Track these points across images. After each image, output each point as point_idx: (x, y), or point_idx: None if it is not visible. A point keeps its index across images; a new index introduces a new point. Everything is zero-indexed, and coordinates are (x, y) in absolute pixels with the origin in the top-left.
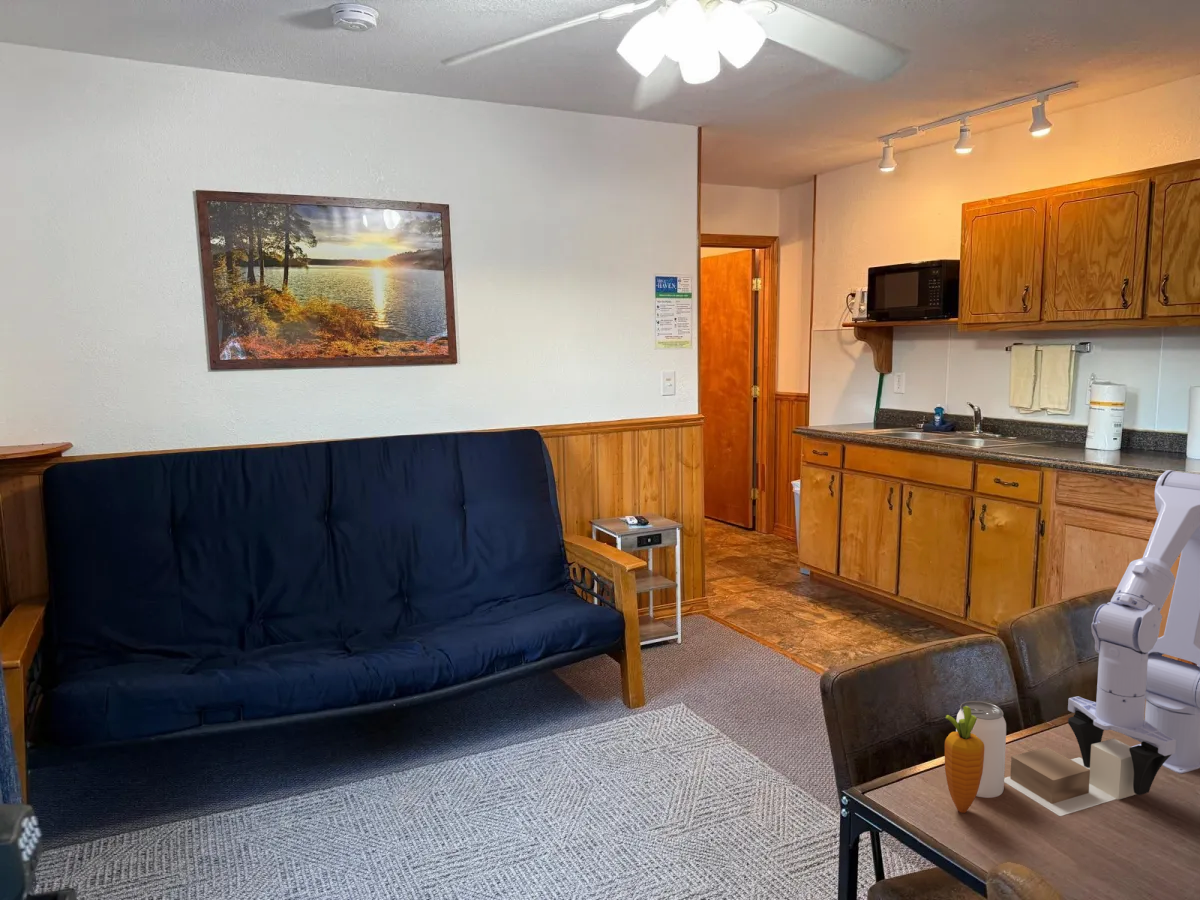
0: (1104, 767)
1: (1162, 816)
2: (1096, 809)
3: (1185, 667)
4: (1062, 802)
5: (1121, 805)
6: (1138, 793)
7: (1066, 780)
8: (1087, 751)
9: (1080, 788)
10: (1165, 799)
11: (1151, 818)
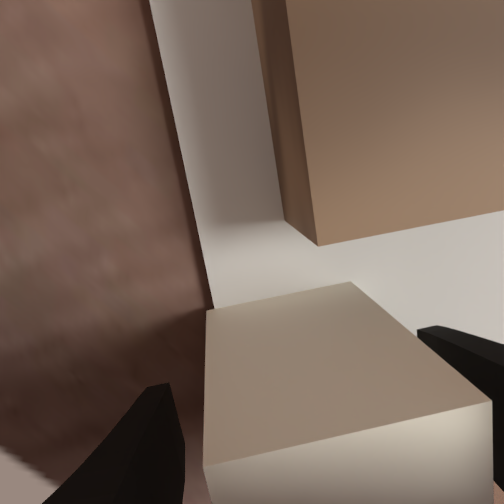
0: (311, 352)
1: (81, 400)
2: (176, 168)
3: None
4: (243, 18)
5: (184, 302)
6: (144, 391)
7: (280, 12)
8: (485, 375)
9: (281, 160)
10: (189, 489)
11: (73, 349)
